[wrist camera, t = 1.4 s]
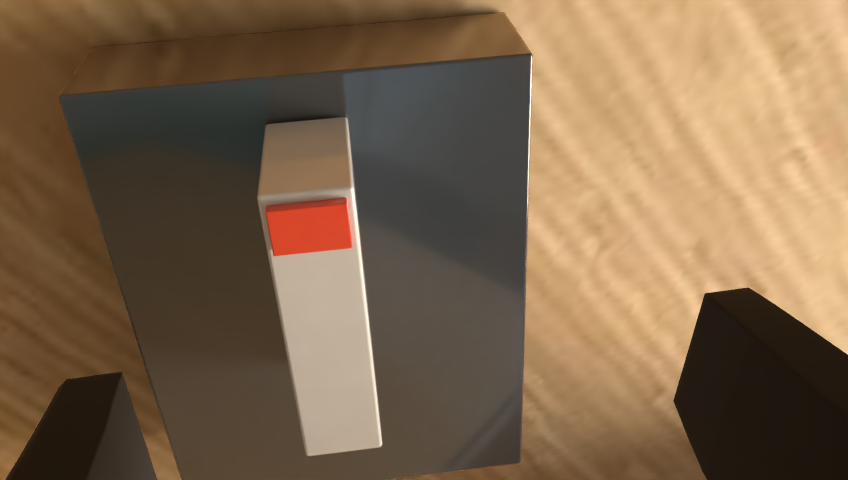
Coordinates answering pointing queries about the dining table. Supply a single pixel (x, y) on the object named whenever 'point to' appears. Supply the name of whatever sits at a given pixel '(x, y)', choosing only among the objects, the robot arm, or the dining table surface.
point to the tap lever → (320, 282)
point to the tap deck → (379, 226)
